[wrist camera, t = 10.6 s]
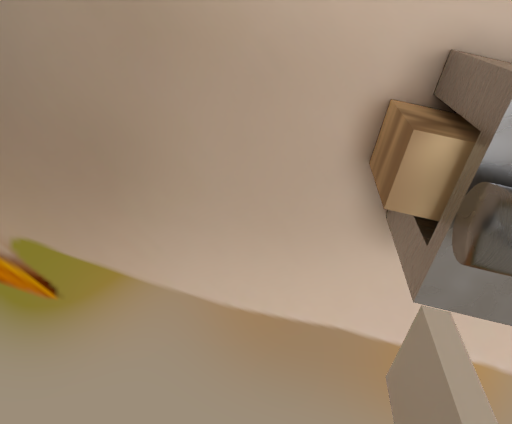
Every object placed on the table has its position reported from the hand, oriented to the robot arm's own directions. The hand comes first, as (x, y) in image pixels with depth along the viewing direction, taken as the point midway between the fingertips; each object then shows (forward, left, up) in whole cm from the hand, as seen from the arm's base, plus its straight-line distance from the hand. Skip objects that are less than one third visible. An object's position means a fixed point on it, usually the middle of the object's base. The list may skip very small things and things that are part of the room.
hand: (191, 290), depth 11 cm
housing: (+14, 0, -22) cm, 26 cm away
